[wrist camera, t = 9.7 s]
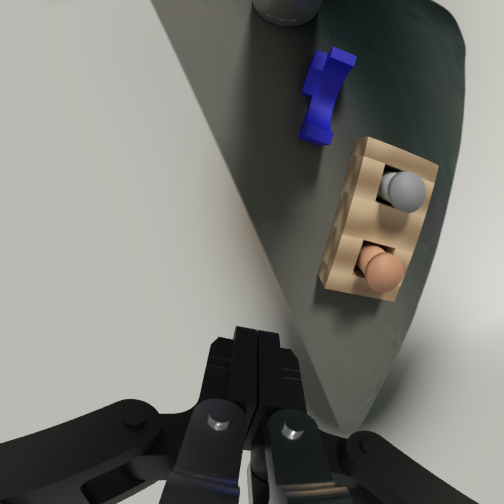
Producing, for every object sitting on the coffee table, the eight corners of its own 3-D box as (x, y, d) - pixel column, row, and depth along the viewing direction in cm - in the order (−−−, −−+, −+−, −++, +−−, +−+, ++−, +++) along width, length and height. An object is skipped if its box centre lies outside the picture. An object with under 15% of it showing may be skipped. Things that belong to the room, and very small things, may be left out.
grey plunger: (373, 162, 37) (397, 166, 29) (402, 173, 37) (430, 179, 30) (364, 196, 38) (386, 206, 31) (393, 205, 38) (419, 217, 31)
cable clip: (312, 56, 33) (321, 42, 27) (343, 68, 33) (356, 56, 28) (286, 134, 37) (292, 131, 31) (319, 145, 37) (329, 144, 31)
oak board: (355, 138, 36) (368, 136, 32) (420, 163, 37) (438, 165, 32) (317, 273, 43) (324, 288, 38) (381, 286, 43) (393, 301, 39)
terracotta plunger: (355, 233, 39) (375, 251, 32) (385, 241, 39) (408, 260, 32) (345, 265, 41) (362, 289, 33) (374, 271, 41) (394, 295, 34)
